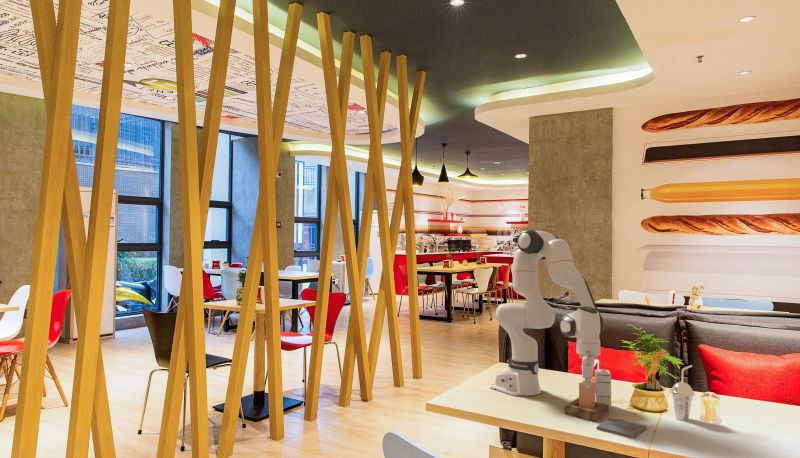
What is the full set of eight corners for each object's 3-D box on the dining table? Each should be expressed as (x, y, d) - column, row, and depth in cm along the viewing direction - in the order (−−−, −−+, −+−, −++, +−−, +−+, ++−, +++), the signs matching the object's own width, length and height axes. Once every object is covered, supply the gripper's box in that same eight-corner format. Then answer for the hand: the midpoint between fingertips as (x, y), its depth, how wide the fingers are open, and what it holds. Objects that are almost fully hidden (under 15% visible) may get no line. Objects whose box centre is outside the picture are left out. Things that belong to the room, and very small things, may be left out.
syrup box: (611, 409, 220) (611, 373, 220) (596, 408, 221) (596, 372, 221) (609, 405, 226) (609, 369, 226) (594, 404, 227) (594, 368, 227)
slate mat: (596, 429, 198) (596, 426, 198) (610, 420, 208) (610, 417, 208) (633, 438, 189) (633, 435, 189) (646, 428, 199) (646, 425, 199)
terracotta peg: (578, 414, 214) (579, 383, 214) (583, 411, 218) (583, 380, 218) (590, 416, 211) (590, 385, 211) (594, 413, 215) (595, 383, 215)
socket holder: (564, 414, 214) (564, 405, 214) (578, 406, 223) (578, 398, 223) (595, 421, 206) (596, 412, 206) (609, 413, 215) (609, 404, 215)
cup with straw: (665, 414, 214) (666, 363, 214) (689, 415, 214) (689, 363, 214) (675, 422, 206) (676, 368, 206) (700, 422, 205) (700, 369, 205)
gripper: (596, 354, 204) (596, 392, 203) (597, 345, 223) (597, 380, 222) (578, 353, 206) (578, 390, 205) (580, 344, 225) (580, 378, 225)
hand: (588, 385), depth 214 cm, fingers open, 8 cm apart
